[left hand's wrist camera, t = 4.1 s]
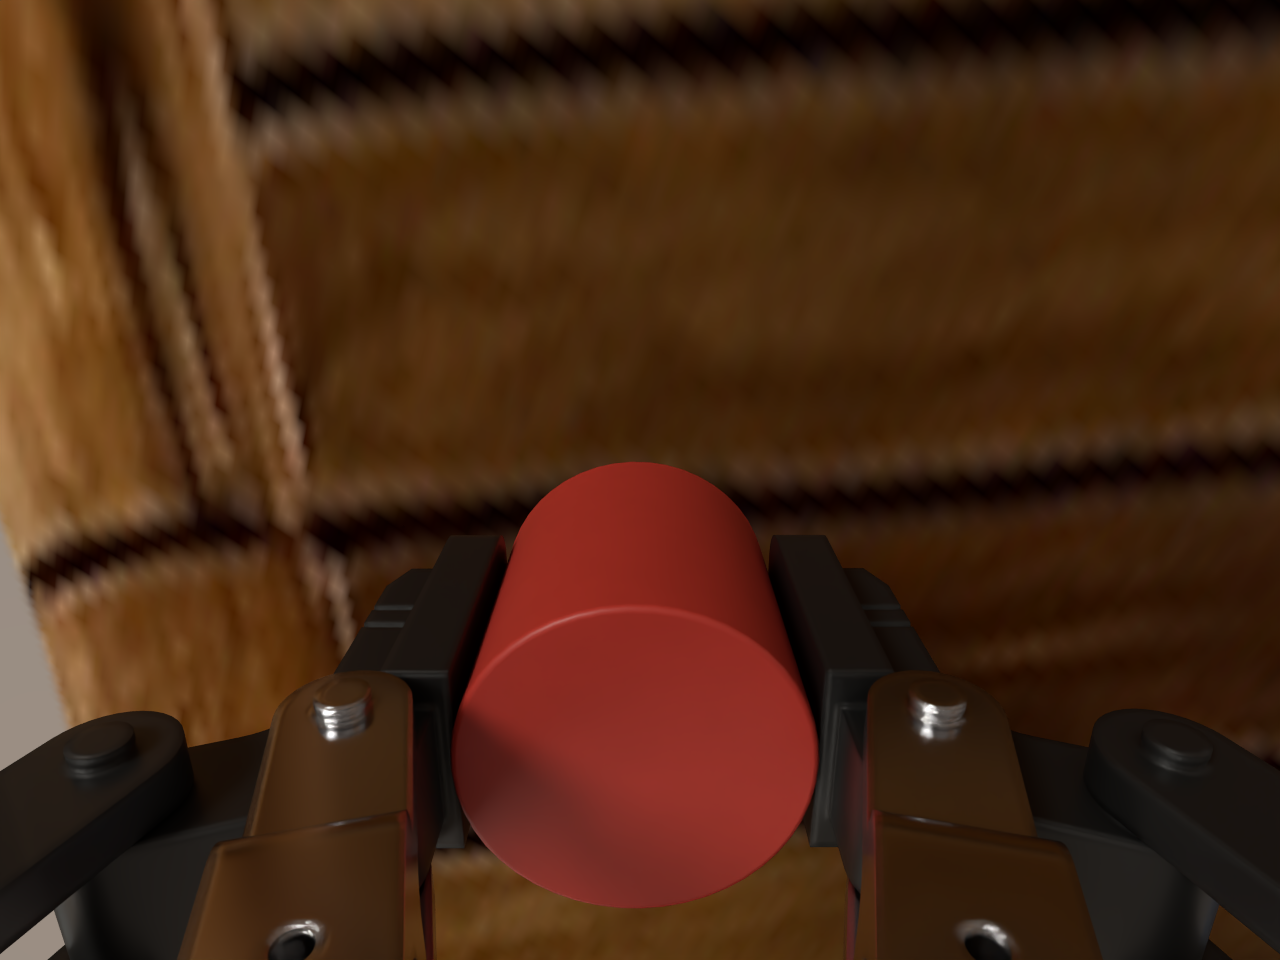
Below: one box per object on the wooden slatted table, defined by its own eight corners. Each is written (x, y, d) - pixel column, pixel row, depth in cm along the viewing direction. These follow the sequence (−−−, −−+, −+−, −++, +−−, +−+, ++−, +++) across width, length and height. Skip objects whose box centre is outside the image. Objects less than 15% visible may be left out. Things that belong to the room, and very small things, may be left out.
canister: (664, 727, 13) (674, 961, 9) (462, 605, 13) (380, 805, 9) (815, 552, 12) (897, 735, 8) (604, 408, 12) (586, 533, 8)
